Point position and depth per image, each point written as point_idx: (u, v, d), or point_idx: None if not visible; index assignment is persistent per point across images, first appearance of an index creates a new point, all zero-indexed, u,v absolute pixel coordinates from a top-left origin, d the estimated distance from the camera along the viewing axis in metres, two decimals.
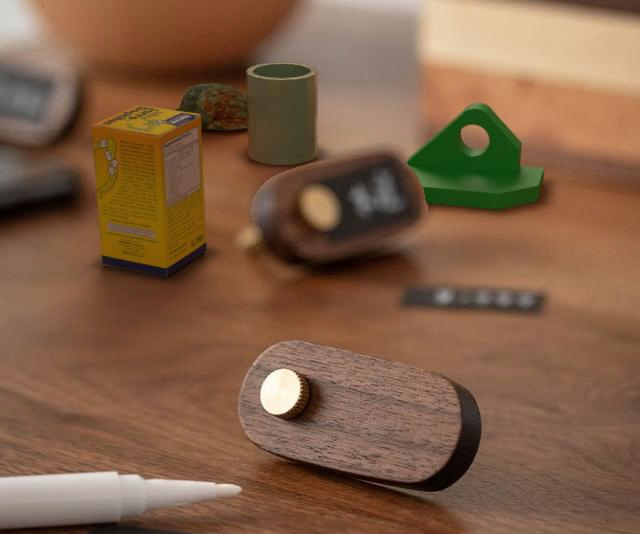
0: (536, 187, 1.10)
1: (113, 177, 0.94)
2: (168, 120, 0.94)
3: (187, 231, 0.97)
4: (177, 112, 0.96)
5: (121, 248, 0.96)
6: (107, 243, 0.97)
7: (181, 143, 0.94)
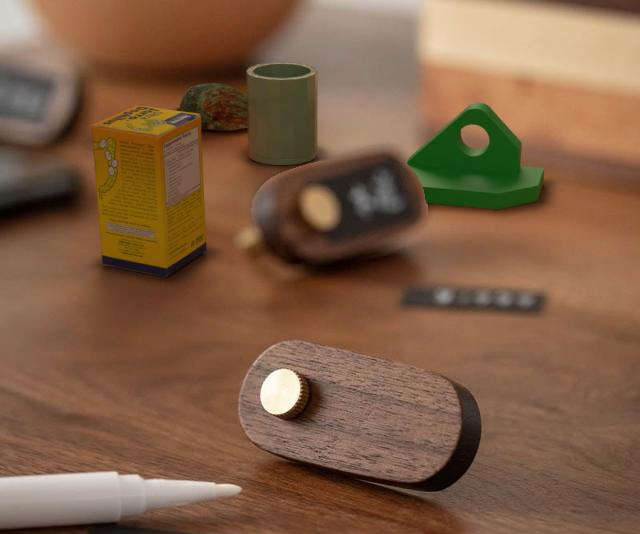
0: (536, 187, 1.10)
1: (113, 177, 0.94)
2: (168, 120, 0.94)
3: (187, 231, 0.97)
4: (176, 112, 0.96)
5: (121, 248, 0.96)
6: (107, 243, 0.97)
7: (181, 143, 0.94)
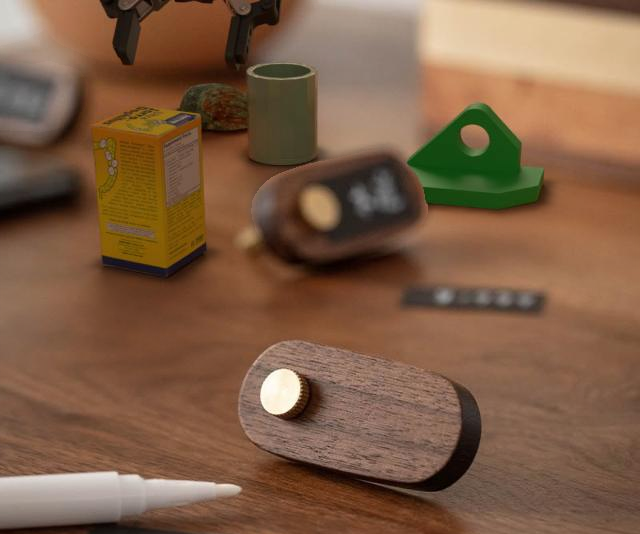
0: (536, 187, 1.10)
1: (113, 177, 0.94)
2: (168, 120, 0.94)
3: (187, 231, 0.97)
4: (176, 112, 0.96)
5: (121, 248, 0.96)
6: (107, 243, 0.97)
7: (181, 143, 0.94)
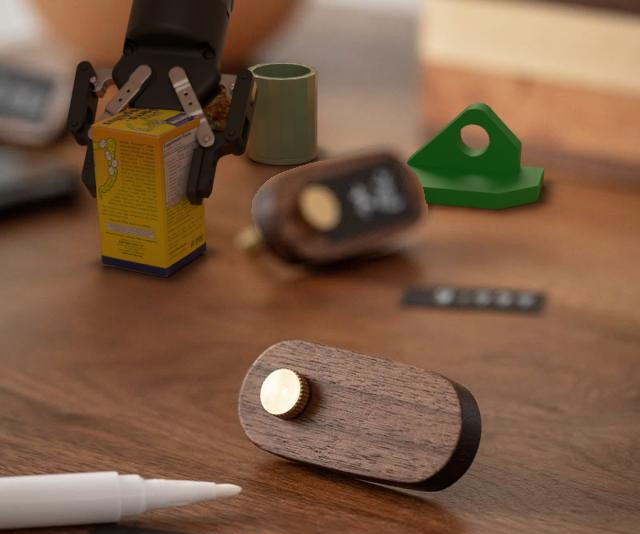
0: (536, 187, 1.10)
1: (113, 177, 0.94)
2: (167, 120, 0.94)
3: (186, 231, 0.97)
4: (176, 112, 0.96)
5: (121, 248, 0.96)
6: (107, 243, 0.97)
7: (181, 143, 0.94)
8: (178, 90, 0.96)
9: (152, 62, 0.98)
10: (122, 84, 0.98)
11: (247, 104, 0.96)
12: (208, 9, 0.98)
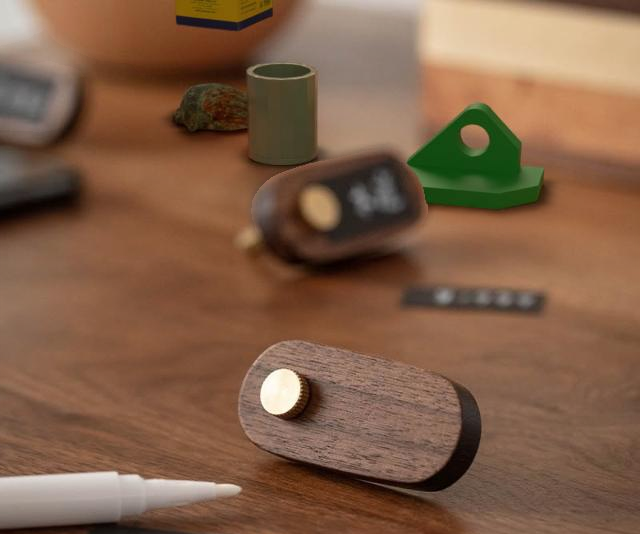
0: (536, 187, 1.10)
1: None
2: None
3: None
4: None
5: (194, 6, 1.02)
6: (181, 2, 1.03)
7: None
8: None
9: None
10: None
11: None
12: None
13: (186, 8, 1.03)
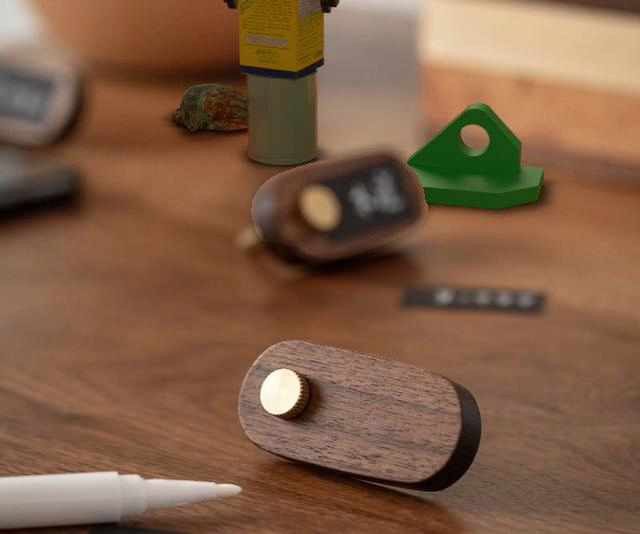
0: (536, 187, 1.10)
1: None
2: None
3: (311, 43, 1.17)
4: None
5: (257, 57, 1.17)
6: (245, 53, 1.17)
7: None
8: None
9: None
10: None
11: None
12: None
13: (250, 59, 1.17)
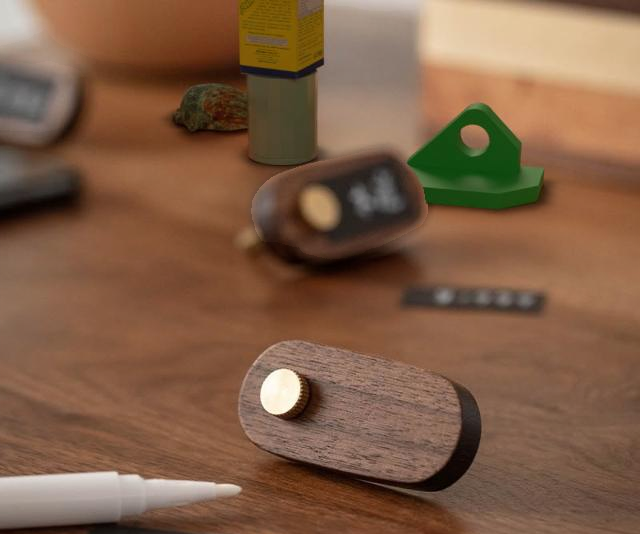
0: (536, 187, 1.10)
1: None
2: None
3: (311, 43, 1.17)
4: None
5: (257, 57, 1.17)
6: (245, 53, 1.17)
7: None
8: None
9: None
10: None
11: None
12: None
13: (250, 59, 1.17)
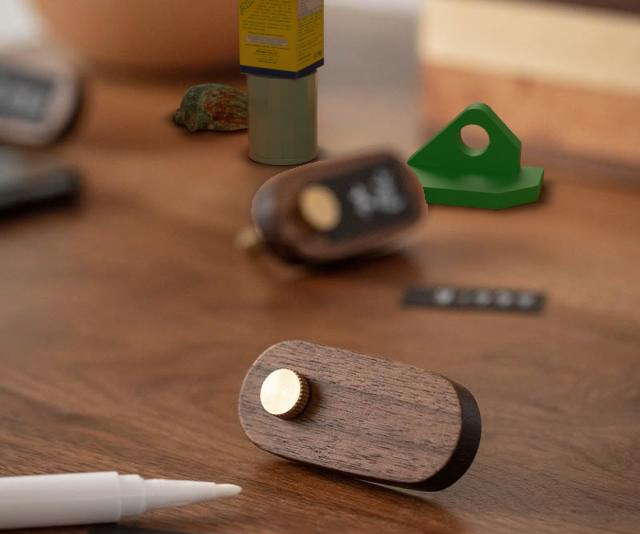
0: (536, 187, 1.10)
1: None
2: None
3: (311, 43, 1.17)
4: None
5: (257, 57, 1.17)
6: (245, 53, 1.17)
7: None
8: None
9: None
10: None
11: None
12: None
13: (250, 59, 1.17)
